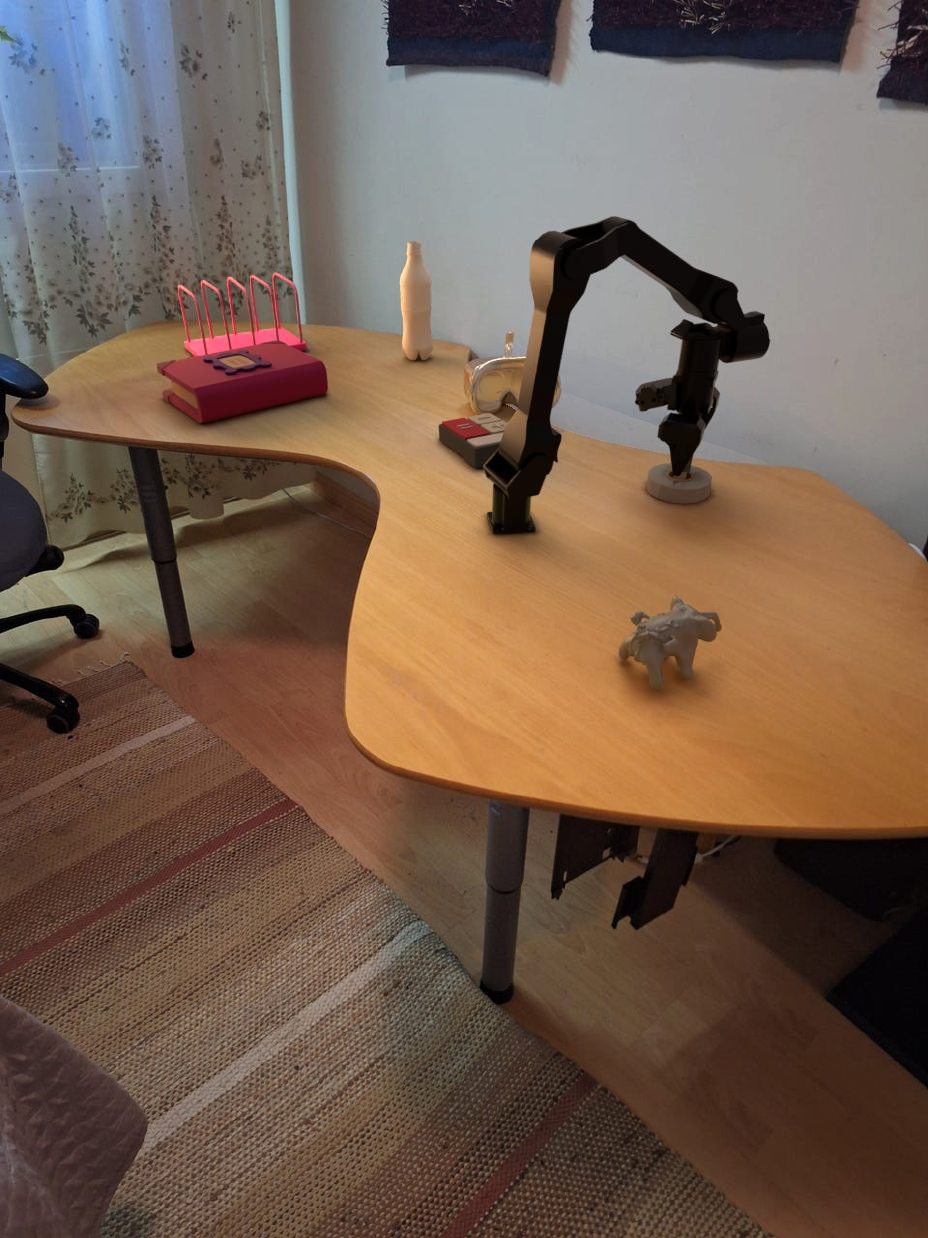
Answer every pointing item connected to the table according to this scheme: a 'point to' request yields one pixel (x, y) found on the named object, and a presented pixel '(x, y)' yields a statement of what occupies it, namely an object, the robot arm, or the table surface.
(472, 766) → the table surface
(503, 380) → the diving goggles
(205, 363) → the book
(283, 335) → the file sorter
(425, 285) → the water bottle
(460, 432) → the calculator
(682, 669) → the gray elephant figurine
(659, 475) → the tape
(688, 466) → the pencil
